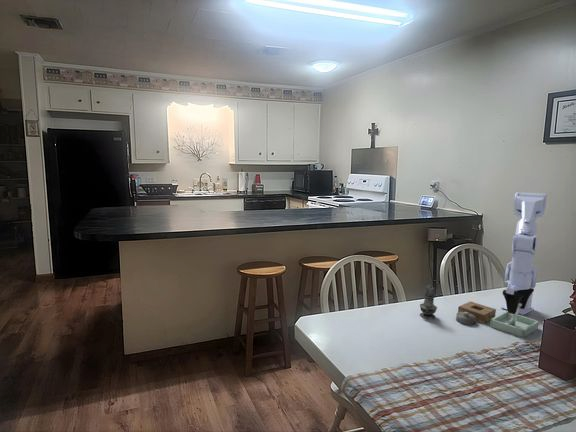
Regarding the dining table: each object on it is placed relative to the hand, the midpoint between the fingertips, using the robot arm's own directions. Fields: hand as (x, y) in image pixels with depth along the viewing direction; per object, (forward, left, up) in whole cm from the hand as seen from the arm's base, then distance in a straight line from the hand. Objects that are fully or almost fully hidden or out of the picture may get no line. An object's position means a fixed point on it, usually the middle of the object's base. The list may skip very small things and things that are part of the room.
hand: (515, 310), depth 124 cm
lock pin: (0, -1, -5) cm, 5 cm away
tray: (0, 0, -6) cm, 6 cm away
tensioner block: (+4, -12, -6) cm, 14 cm away
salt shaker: (+16, -22, -6) cm, 28 cm away
